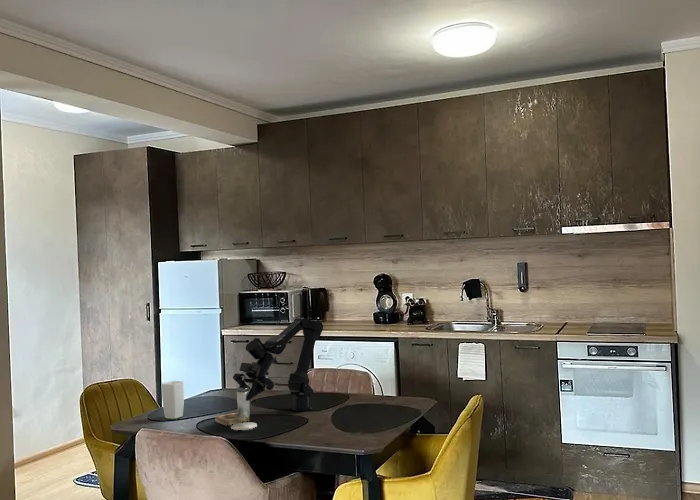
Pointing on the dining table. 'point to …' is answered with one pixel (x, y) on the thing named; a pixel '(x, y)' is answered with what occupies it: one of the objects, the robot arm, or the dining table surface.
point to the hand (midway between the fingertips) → (242, 399)
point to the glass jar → (243, 402)
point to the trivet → (244, 426)
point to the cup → (173, 399)
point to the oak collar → (230, 419)
